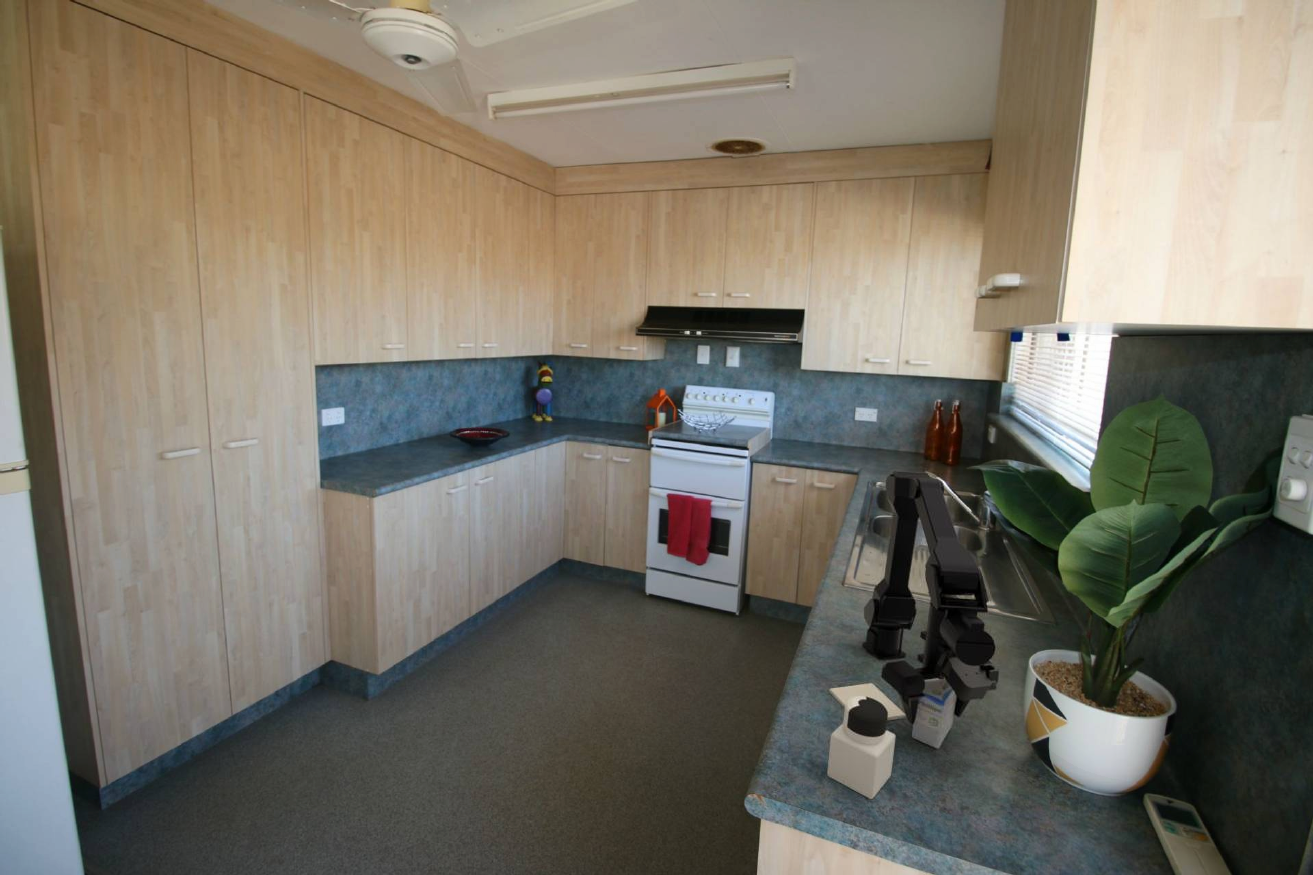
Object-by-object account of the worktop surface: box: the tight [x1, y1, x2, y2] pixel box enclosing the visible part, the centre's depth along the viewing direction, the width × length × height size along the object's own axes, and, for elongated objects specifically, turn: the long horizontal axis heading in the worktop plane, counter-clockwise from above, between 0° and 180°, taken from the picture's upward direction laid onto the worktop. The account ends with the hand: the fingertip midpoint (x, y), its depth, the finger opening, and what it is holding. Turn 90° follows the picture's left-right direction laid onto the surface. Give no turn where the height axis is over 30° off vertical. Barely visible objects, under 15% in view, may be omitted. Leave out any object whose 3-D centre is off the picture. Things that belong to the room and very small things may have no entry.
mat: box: [829, 682, 906, 722], centre depth 114 cm, size 9×10×1 cm
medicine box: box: [911, 679, 957, 750], centre depth 105 cm, size 8×4×9 cm, turn 141°
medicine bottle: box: [826, 696, 896, 800], centre depth 94 cm, size 7×7×12 cm
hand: (933, 719), depth 106 cm, fingers closed on medicine box, 9 cm apart
